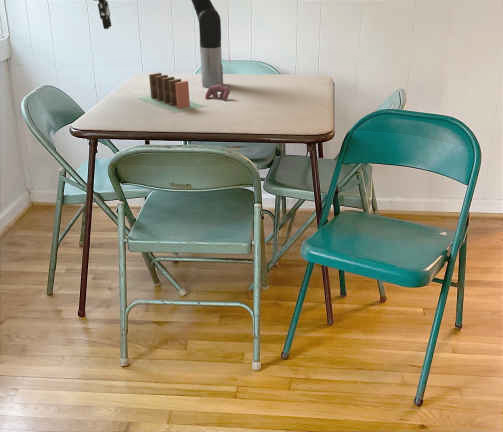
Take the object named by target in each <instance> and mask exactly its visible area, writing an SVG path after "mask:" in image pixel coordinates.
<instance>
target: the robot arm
mask: <svg viewBox="0 0 503 432" xmlns="http://www.w3.org/2000/svg"><path fill="white" fill-rule="evenodd" d="M94 1H98V3H97V8H98V12H99V18H100V19H101V22H102V26H103V29H104V30H108V29H110V28H111V27H112V22H111V18H110V17H111V11H110V4H109V2H108V0H93V2H94ZM190 1H191V2H192V5H193V9H194V10H195V13H196V16H197V20H198V24H199V25H198V26H199V28H198V29H199V30H198V31H199V49H200V50H199V51H200V67H201V85H202V87H204V88H209V87H211V85H224V71H223V69H224V68H223V59H222V22H221V21H222V20H221V16H220V14H219V12H218V11H217V10H216V8H215V7H214V5H213V3H212V1H211V0H190Z"/></svg>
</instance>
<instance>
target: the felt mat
mask: <svg viewBox="0 0 503 432" xmlns="http://www.w3.org/2000/svg"><path fill="white" fill-rule="evenodd" d="M137 100H140V101H143V102H146V103H147V104H150V105H153V106H155V107H158V108H161V109H164V110H167V111H169V112H172V113H175V114H177V113H181V112H182V113H183V112H186V111H190V110H194V109H200V108H204V107H205V105H202V104H199V103H197V102H194V101H192V100H191V101H190V100H189V102H190V106H188V107H184V108H177V105H175V106H171V105H170V103H167V104H165V103H164V100H163V101H157V98H156V99H152V98H151V95H147V96H142V97H137Z"/></svg>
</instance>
